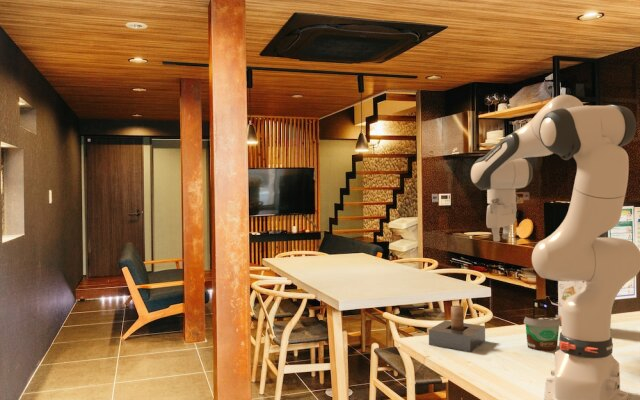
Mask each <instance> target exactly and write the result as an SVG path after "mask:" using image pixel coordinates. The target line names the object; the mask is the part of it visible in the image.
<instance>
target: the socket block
mask: <svg viewBox="0 0 640 400" xmlns="http://www.w3.org/2000/svg"><path fill="white" fill-rule="evenodd" d="M485 342H486V326H485V325H479V324H472V323H468V322H467V323H465V322H464V331H457V330H451V320H447V319H446V320H444V321H442V322H440V323H438V324H436V325H435V326H433V327H431V328H429V329H428V345H430V346H434V347H440V348H445V349H452V350H456V351H457V350H458V351H461V352H468V353H471V352H473V351H474V350H476V349H477V348H478V347H479V346H481V344H483V343H485Z"/></svg>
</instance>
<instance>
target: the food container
mask: <svg viewBox="0 0 640 400" xmlns="http://www.w3.org/2000/svg"><path fill="white" fill-rule="evenodd" d="M523 324H525V333H526V342H527V343H526V344H527V348H528V349H531V350H535V351H539V352H552V351H557V349H558V344H559V334H560V332H559V331H560V330H559V329H560V326H561V324H562V323H561V319H560V317H559V316H558V314H555V316H554V317H543V316H542V317H536V318H531V317H527V316H524V319H523Z"/></svg>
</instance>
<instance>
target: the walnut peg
mask: <svg viewBox="0 0 640 400" xmlns="http://www.w3.org/2000/svg"><path fill="white" fill-rule="evenodd" d="M464 318H465V317H464V306H463V305H451V306H450V321H451V330H457V331H464V323H465V322H464Z"/></svg>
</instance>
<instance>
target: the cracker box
mask: <svg viewBox="0 0 640 400" xmlns="http://www.w3.org/2000/svg"><path fill="white" fill-rule="evenodd" d="M557 283H558V284H557V293H558V296H557V297H558V298H557V299H558V300H557V301H558V302H557V303H558V305H557V308H558V309H557V311H558V312H557V315H558V316H559V317H560V319H561V323H562V305H563V303H564V301H565V300H566V299H567V298H568V297H570V296H572V295H574V294H576V293H577V292H579V291H580V289H581V288H582V286H583V284H584V281H557ZM560 326H561V327H562V324H561V325H560Z"/></svg>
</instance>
